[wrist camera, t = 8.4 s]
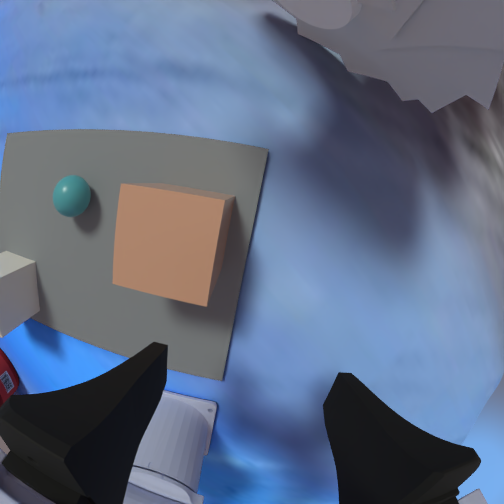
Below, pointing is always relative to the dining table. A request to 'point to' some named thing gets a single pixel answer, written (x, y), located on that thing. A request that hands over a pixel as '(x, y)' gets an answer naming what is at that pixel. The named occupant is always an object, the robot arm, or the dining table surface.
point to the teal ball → (71, 196)
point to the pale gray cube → (17, 291)
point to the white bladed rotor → (412, 43)
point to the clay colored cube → (170, 240)
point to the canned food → (7, 378)
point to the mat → (103, 236)
